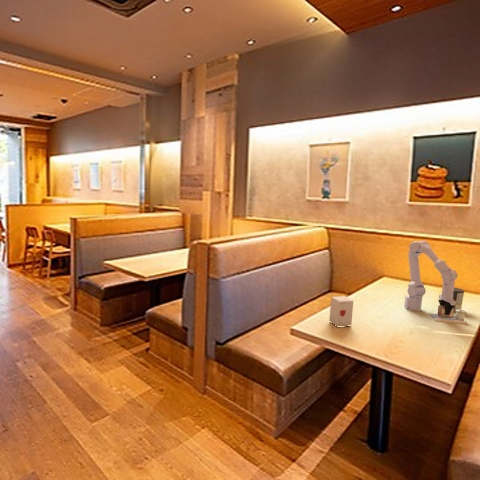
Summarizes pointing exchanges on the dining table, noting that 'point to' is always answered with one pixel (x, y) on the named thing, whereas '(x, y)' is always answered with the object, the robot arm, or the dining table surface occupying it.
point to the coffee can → (458, 298)
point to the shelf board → (445, 319)
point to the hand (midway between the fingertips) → (445, 313)
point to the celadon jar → (460, 315)
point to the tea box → (442, 312)
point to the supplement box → (341, 311)
